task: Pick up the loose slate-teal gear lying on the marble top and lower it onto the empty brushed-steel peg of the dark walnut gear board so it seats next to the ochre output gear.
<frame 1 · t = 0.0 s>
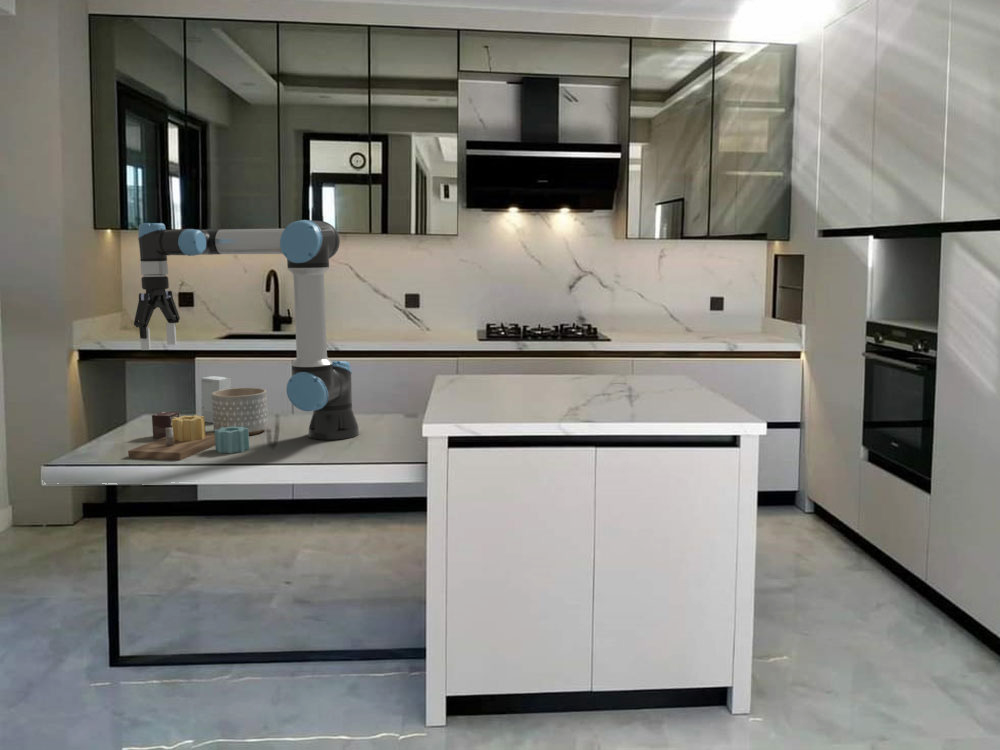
hand: (159, 347, 279), 28 cm above the table, fingers open, 13 cm apart
gear out: (189, 438, 273), point 2 cm above the table, touching gear board
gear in: (232, 449, 266), on the table
planter: (241, 432, 292), on the table
box: (167, 437, 285), on the table
skincare box: (217, 422, 309), on the table
gear board: (180, 448, 269), on the table
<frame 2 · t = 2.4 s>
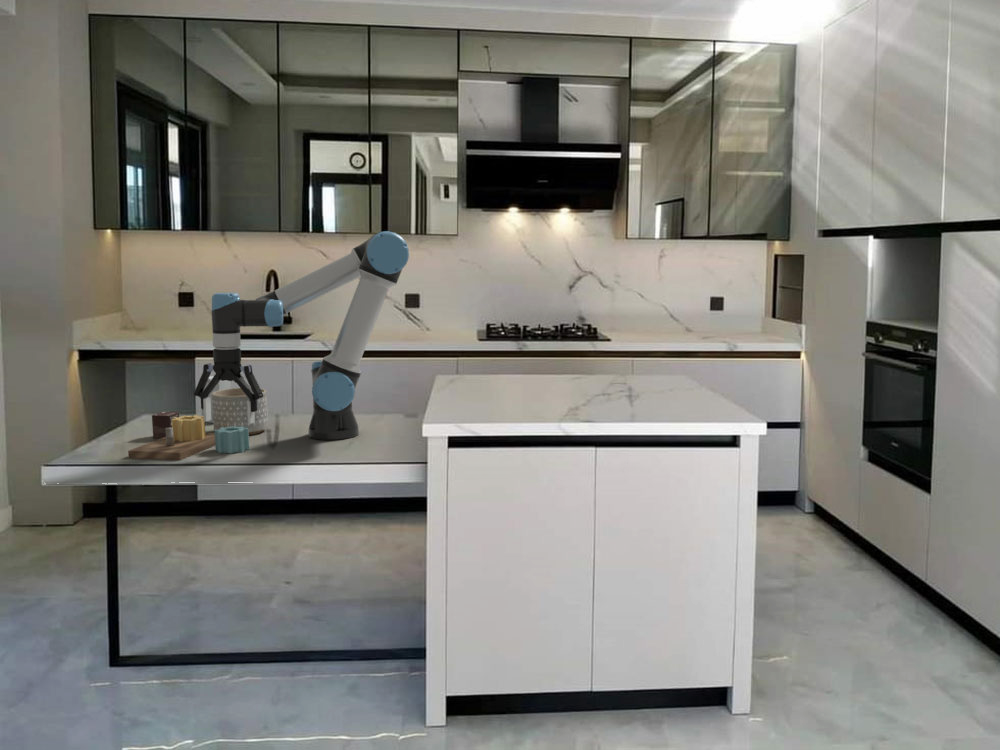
hand: (229, 421, 265), 8 cm above the table, fingers open, 13 cm apart
nothing on the table moved.
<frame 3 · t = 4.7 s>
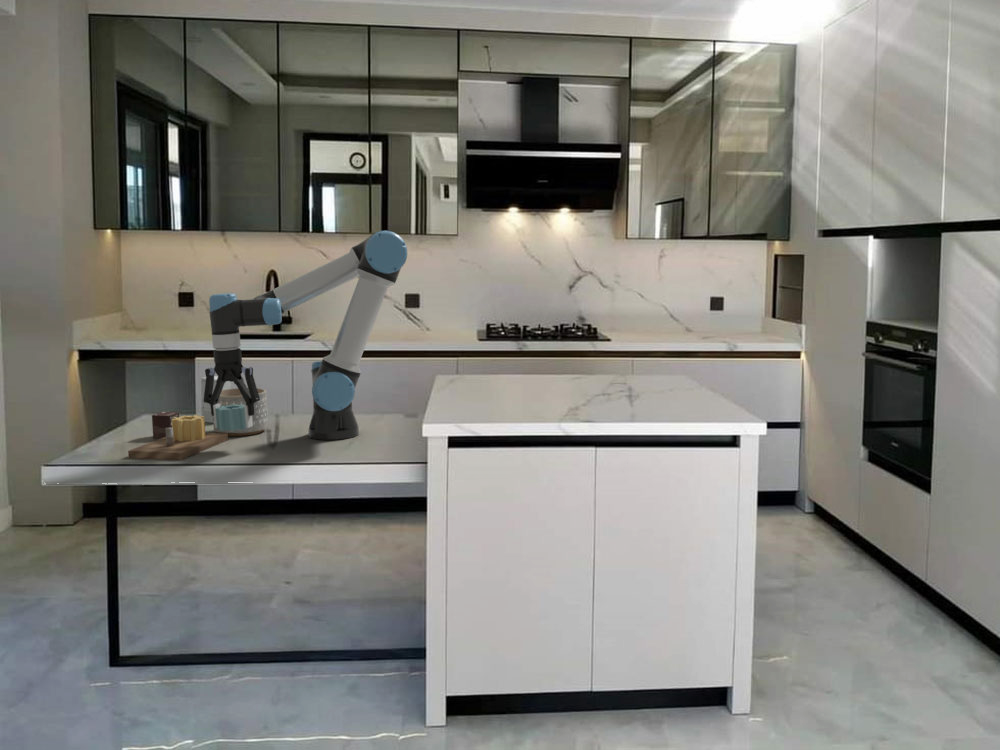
hand: (234, 426, 266), 7 cm above the table, fingers closed on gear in, 9 cm apart
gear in: (234, 427, 266), point 6 cm above the table, touching gripper
everything else where it was.
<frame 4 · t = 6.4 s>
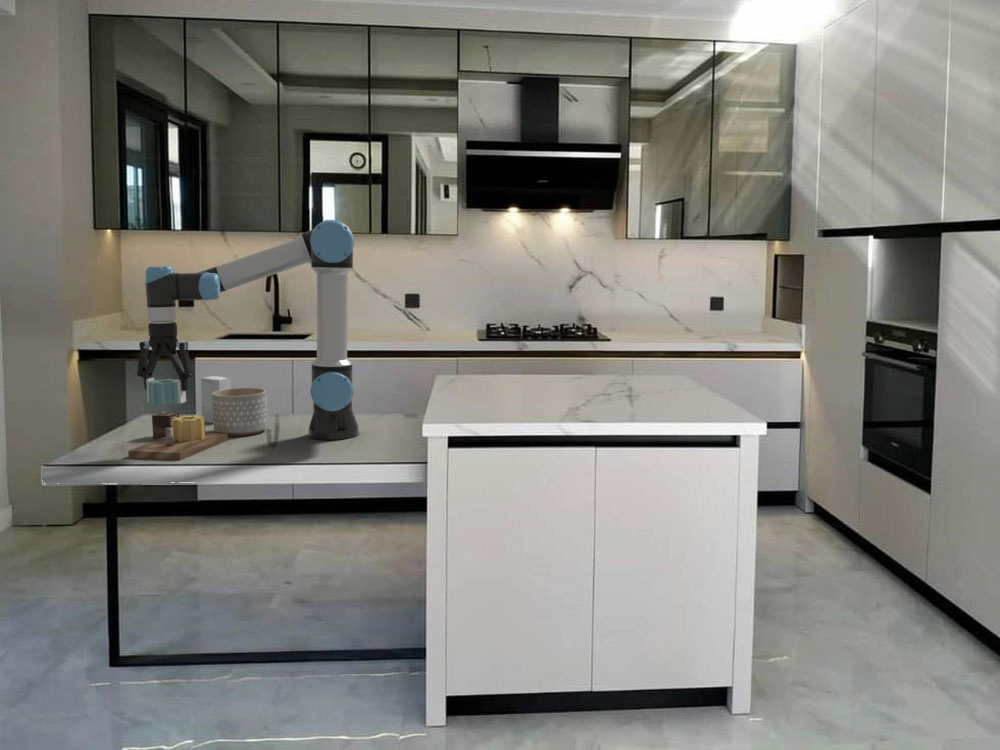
hand: (166, 401, 262), 15 cm above the table, fingers closed on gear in, 9 cm apart
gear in: (166, 402, 262), point 14 cm above the table, touching gripper
everything else where it was.
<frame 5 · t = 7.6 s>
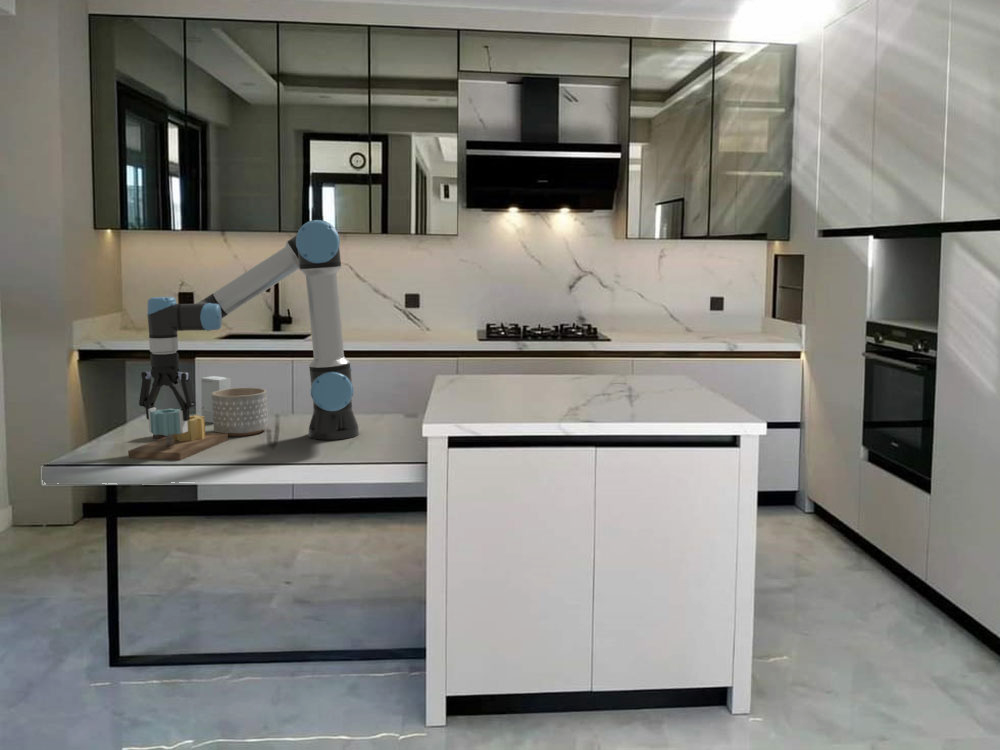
hand: (168, 431, 263), 6 cm above the table, fingers closed on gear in, 9 cm apart
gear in: (168, 432, 263), point 6 cm above the table, touching gripper
everything else where it was.
when the fingers open (3 cm above the table, at t = 8.5 s): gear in drops 1 cm, resting on gear board.
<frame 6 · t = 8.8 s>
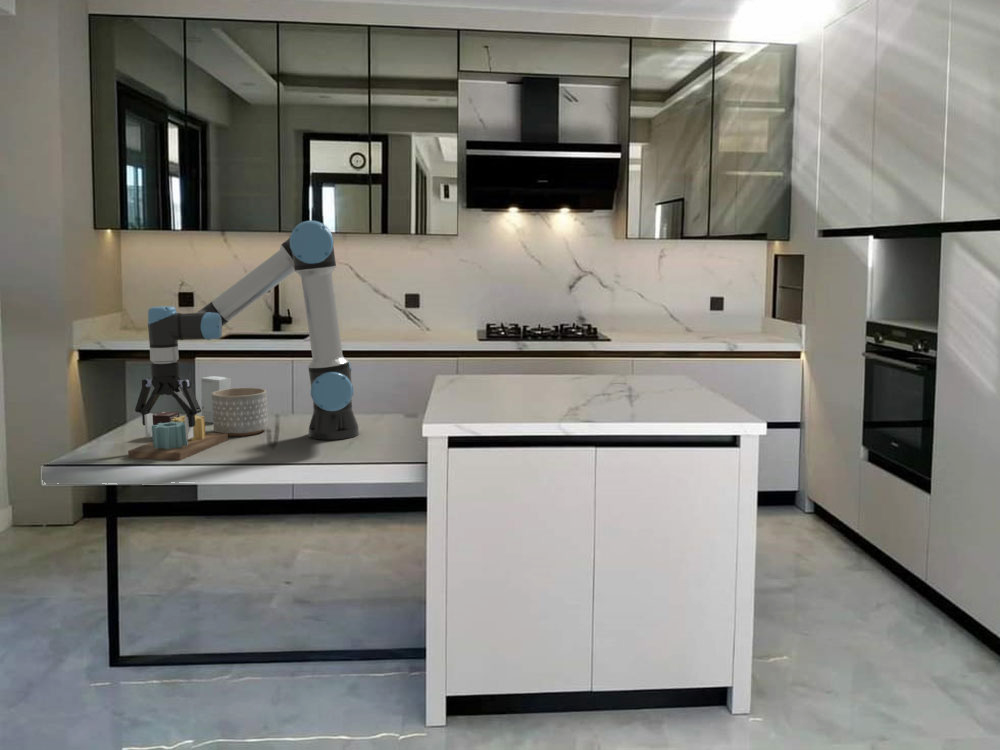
hand: (169, 437, 263), 4 cm above the table, fingers open, 12 cm apart
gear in: (170, 445, 264), point 2 cm above the table, touching gear board
everything else where it was.
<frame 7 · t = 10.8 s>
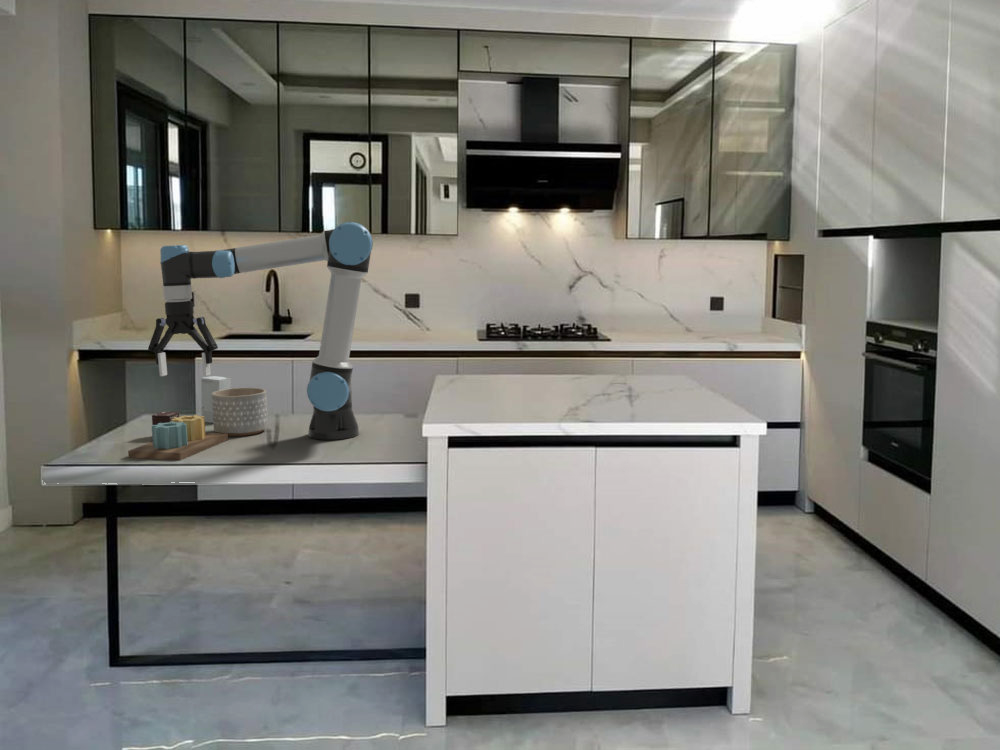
hand: (185, 375, 264), 22 cm above the table, fingers open, 13 cm apart
nothing on the table moved.
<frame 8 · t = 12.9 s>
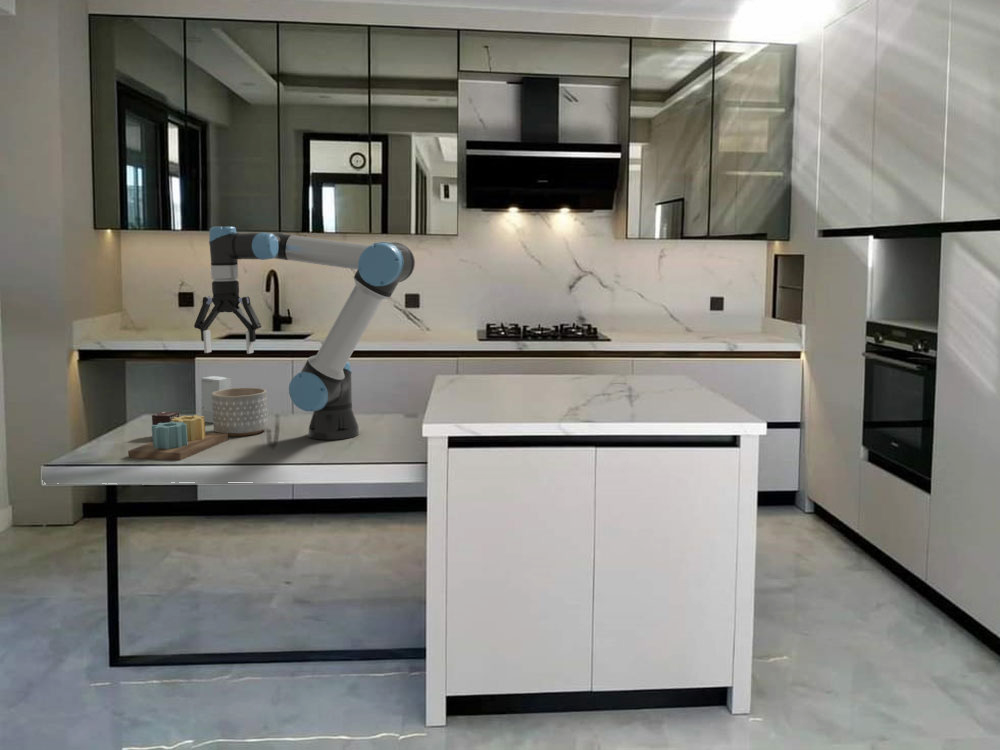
hand: (229, 352, 273), 27 cm above the table, fingers open, 13 cm apart
nothing on the table moved.
at the end: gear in 0.1 cm from the target spot on the gear board, point 2.0 cm above the gear board's base; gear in tilted 0°; the gripper is holding nothing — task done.
